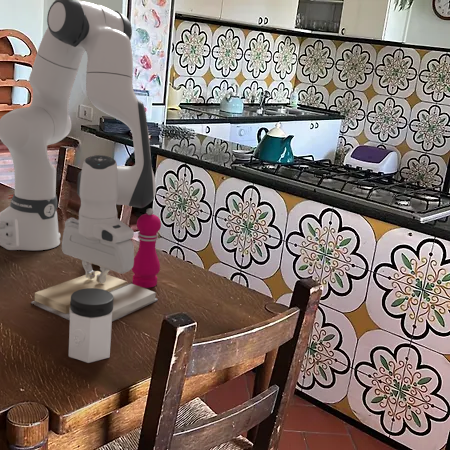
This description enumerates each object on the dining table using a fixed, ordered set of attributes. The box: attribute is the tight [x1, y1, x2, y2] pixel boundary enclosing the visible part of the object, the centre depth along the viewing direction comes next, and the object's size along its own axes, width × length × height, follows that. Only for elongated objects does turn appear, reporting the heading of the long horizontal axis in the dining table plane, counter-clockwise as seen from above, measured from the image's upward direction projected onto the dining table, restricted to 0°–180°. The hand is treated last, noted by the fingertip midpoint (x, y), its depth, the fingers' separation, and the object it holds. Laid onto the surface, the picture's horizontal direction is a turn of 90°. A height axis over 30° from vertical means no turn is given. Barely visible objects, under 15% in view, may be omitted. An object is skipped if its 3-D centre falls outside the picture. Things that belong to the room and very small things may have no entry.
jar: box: [68, 288, 114, 364], centre depth 121 cm, size 9×8×12 cm
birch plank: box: [34, 270, 128, 314], centre depth 147 cm, size 10×20×2 cm, turn 148°
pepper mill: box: [131, 207, 162, 289], centre depth 156 cm, size 7×7×20 cm
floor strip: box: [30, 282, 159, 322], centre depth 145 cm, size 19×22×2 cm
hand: (95, 280), depth 150 cm, fingers open, 2 cm apart
